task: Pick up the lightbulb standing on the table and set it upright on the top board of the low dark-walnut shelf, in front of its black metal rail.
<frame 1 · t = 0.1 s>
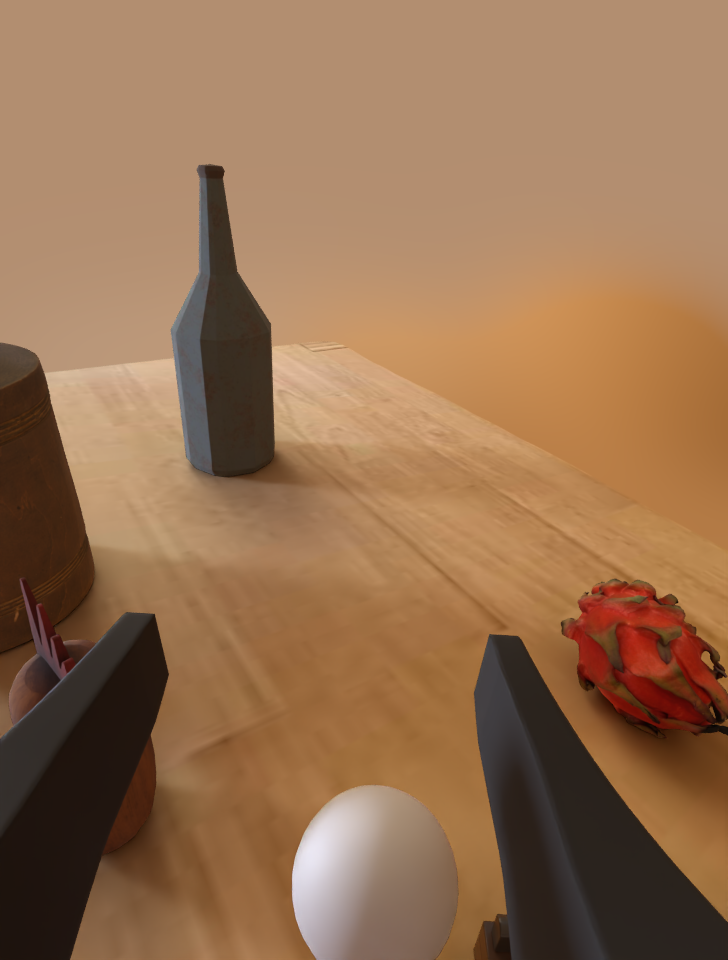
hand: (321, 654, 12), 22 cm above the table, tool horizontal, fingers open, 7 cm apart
bottle: (232, 458, 65), on the table
dragon fruit: (629, 695, 38), on the table
wooden figurine: (107, 814, 30), on the table
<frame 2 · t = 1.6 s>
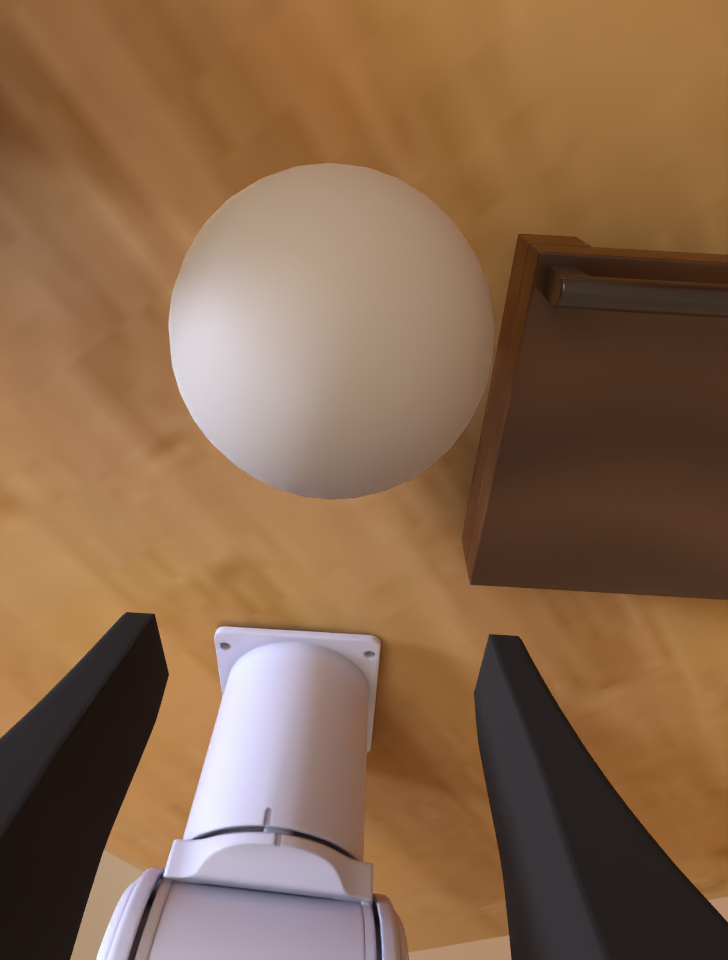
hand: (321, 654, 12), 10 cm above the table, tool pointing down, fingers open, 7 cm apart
lightbulb: (353, 256, 18), on the table
shelf: (690, 422, 20), on the table
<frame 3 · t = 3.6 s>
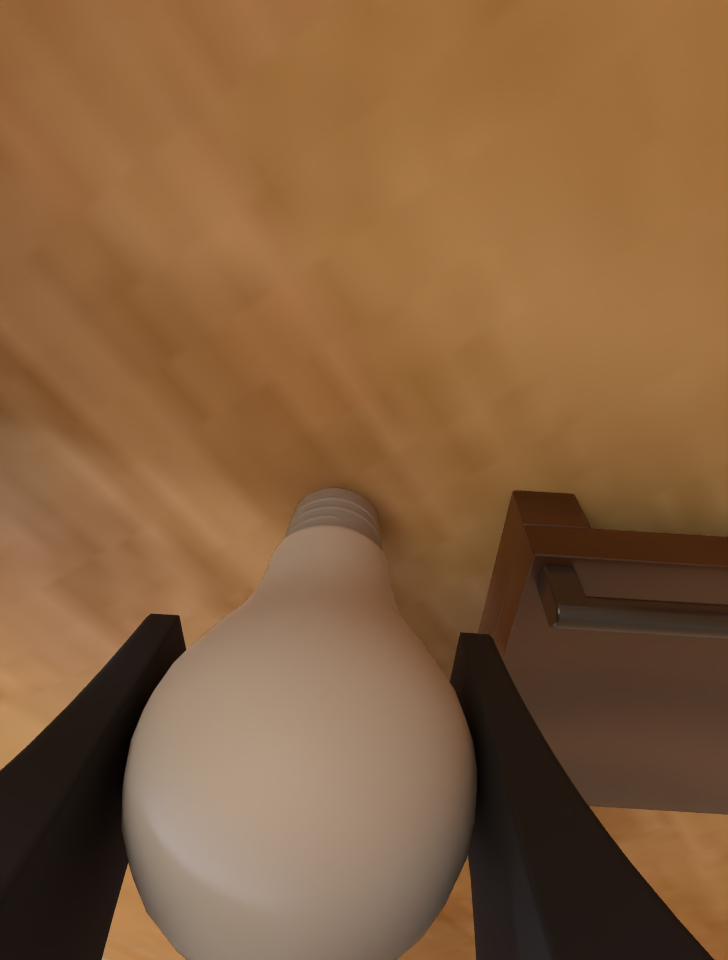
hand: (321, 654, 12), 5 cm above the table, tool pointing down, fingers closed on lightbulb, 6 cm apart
lightbulb: (338, 502, 17), on the table, touching gripper
shelf: (692, 642, 19), on the table
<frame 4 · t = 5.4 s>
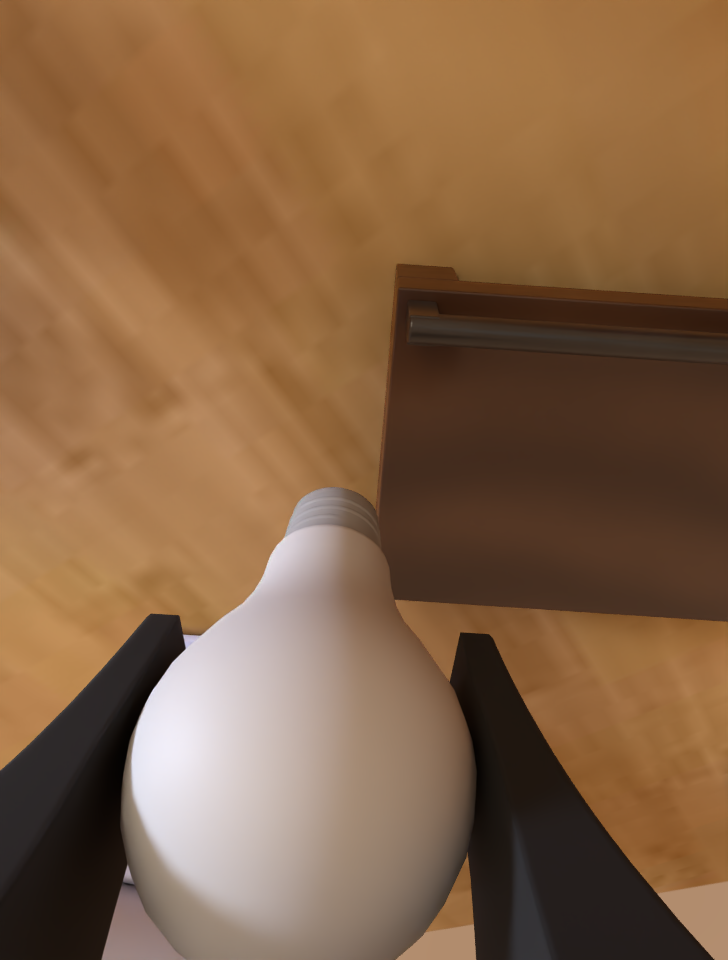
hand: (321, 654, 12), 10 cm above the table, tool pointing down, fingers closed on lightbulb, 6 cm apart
lightbulb: (338, 502, 17), point 5 cm above the table, touching gripper
shelf: (581, 443, 21), on the table
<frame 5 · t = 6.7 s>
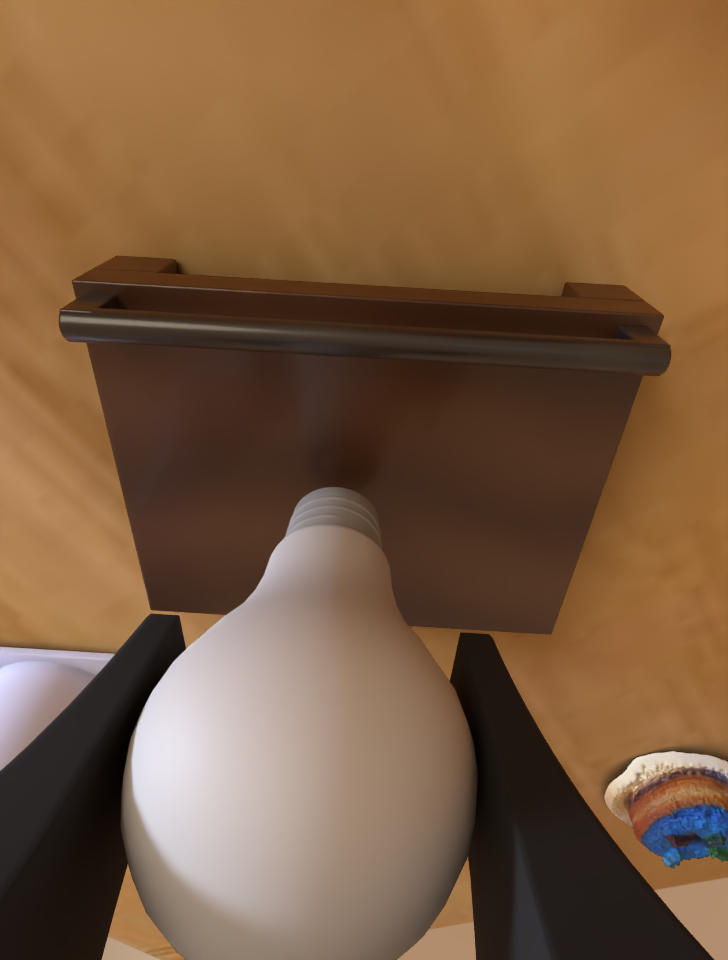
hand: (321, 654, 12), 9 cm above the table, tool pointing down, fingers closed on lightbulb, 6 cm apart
dessert: (669, 782, 31), on the table
lightbulb: (338, 502, 17), point 3 cm above the table, touching gripper
shelf: (361, 446, 20), on the table
when the fingers open (8 cm above the table, at t = 7.6 s): lightbulb stays where it is, resting on shelf.
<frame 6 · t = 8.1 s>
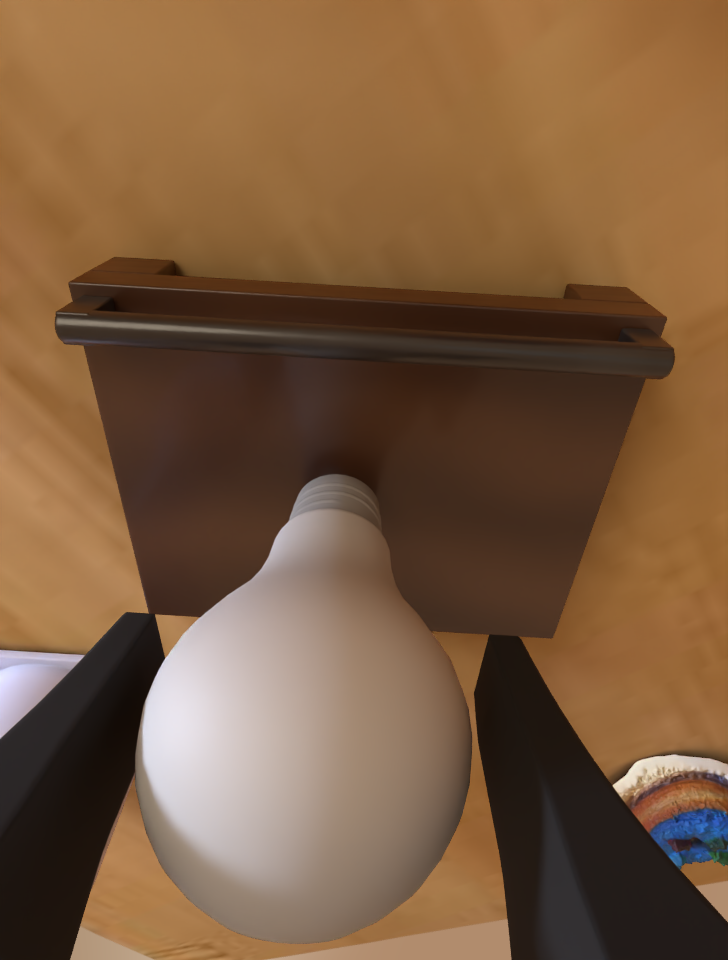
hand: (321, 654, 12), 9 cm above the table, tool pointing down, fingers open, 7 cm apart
dessert: (670, 785, 31), on the table
lightbulb: (340, 489, 17), point 3 cm above the table, touching shelf
shelf: (361, 448, 19), on the table
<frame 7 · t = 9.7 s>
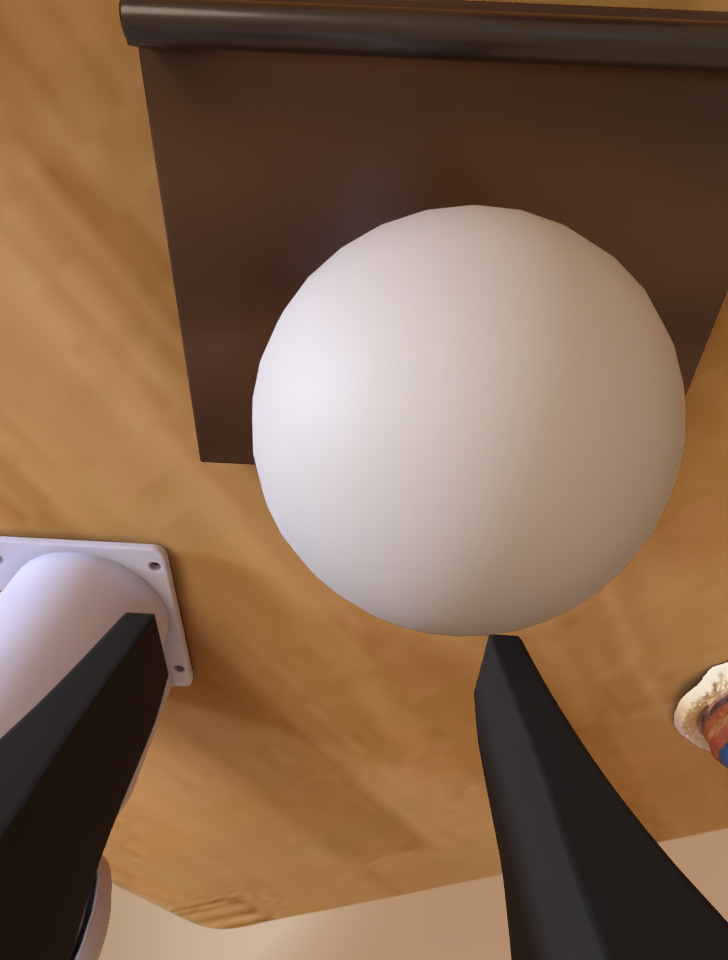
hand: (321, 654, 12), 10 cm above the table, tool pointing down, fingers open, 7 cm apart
lightbulb: (425, 286, 15), point 3 cm above the table, touching shelf
shelf: (438, 265, 17), on the table
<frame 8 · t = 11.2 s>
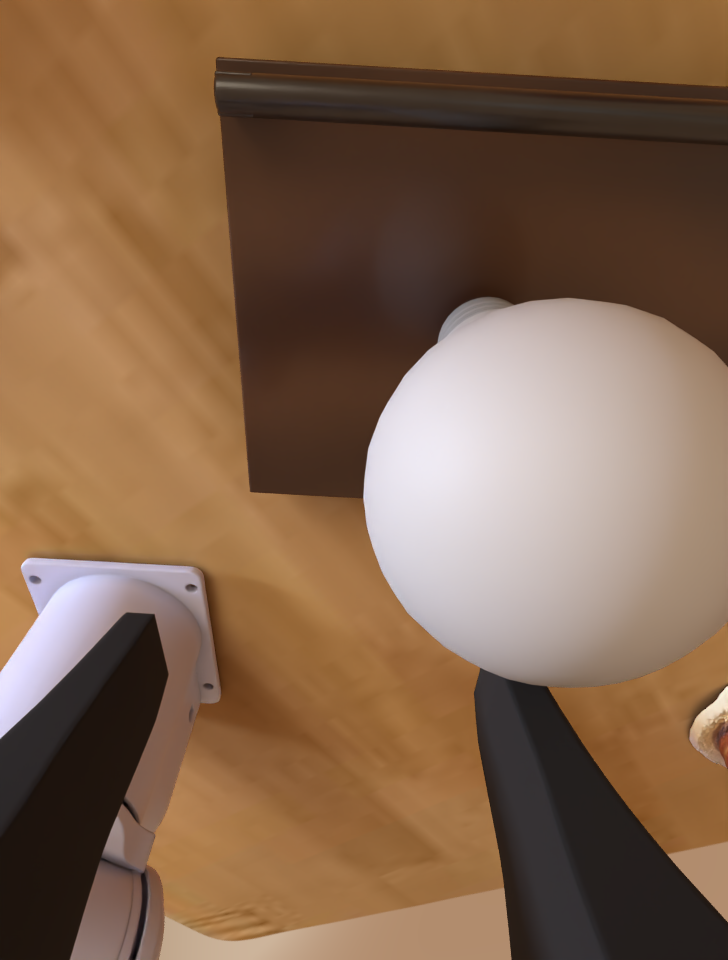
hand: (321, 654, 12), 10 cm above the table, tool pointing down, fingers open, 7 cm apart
lightbulb: (478, 331, 16), point 3 cm above the table, touching shelf
shelf: (483, 306, 18), on the table
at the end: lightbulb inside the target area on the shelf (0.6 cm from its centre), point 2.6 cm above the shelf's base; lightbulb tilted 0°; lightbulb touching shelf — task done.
